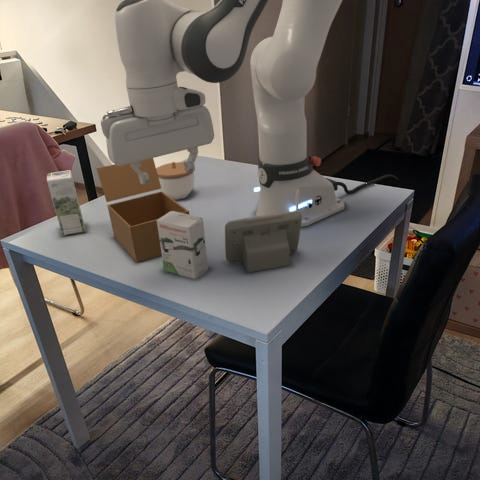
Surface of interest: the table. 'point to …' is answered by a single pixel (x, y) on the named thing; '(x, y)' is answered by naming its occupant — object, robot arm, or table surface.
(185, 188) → the trinket box
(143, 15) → the robot arm
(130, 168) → the flap
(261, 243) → the digital clock
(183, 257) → the ink box
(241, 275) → the table surface
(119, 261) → the table surface
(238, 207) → the table surface
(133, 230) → the carton
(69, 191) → the syrup box
